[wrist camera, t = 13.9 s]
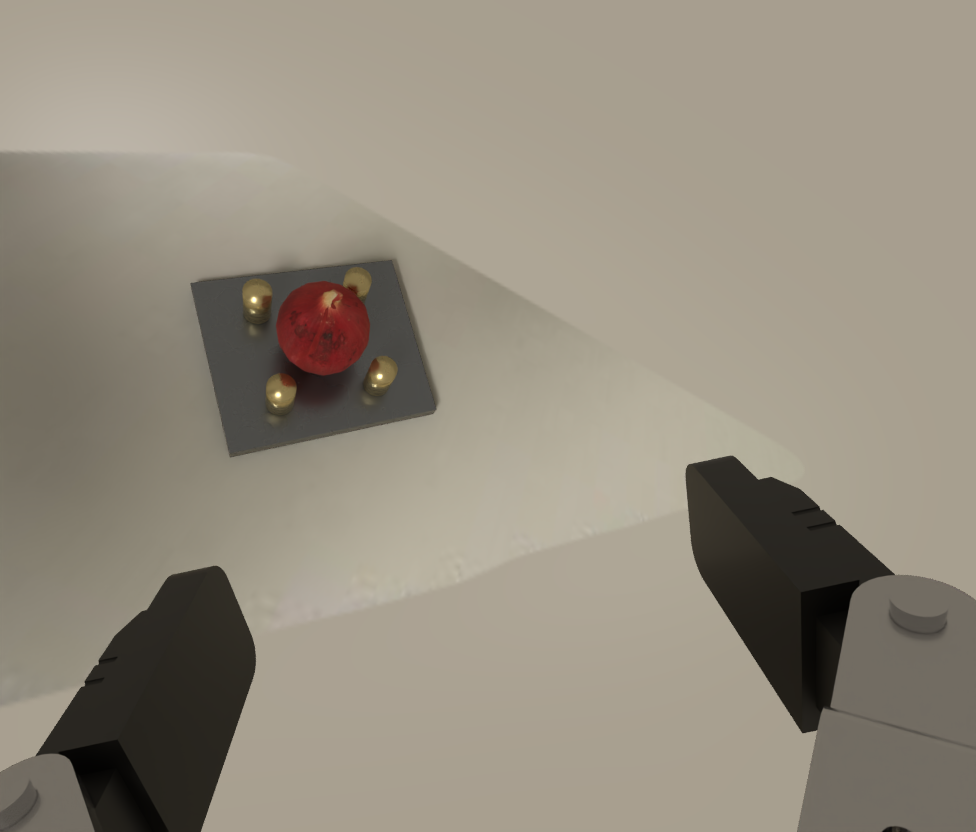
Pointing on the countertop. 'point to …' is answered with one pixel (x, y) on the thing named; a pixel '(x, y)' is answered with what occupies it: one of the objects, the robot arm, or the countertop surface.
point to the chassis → (288, 389)
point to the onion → (323, 327)
